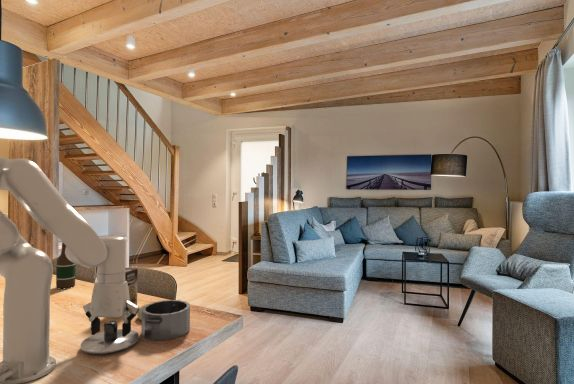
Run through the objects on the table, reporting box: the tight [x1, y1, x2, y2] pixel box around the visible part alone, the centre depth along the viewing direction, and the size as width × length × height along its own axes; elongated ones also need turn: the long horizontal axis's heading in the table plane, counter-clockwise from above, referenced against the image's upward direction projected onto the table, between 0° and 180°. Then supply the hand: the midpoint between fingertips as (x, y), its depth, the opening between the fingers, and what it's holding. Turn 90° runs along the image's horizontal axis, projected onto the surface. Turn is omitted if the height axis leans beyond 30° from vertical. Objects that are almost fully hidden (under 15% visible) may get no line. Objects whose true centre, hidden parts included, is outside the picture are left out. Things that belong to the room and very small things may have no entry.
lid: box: [80, 320, 140, 355], centre depth 104 cm, size 16×16×7 cm
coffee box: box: [125, 267, 139, 314], centre depth 132 cm, size 9×6×16 cm
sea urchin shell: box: [136, 303, 149, 321], centre depth 127 cm, size 9×8×8 cm
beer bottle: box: [55, 241, 76, 289], centre depth 164 cm, size 8×8×24 cm
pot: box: [141, 299, 191, 342], centre depth 115 cm, size 19×15×8 cm
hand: (110, 334), depth 104 cm, fingers open, 9 cm apart
